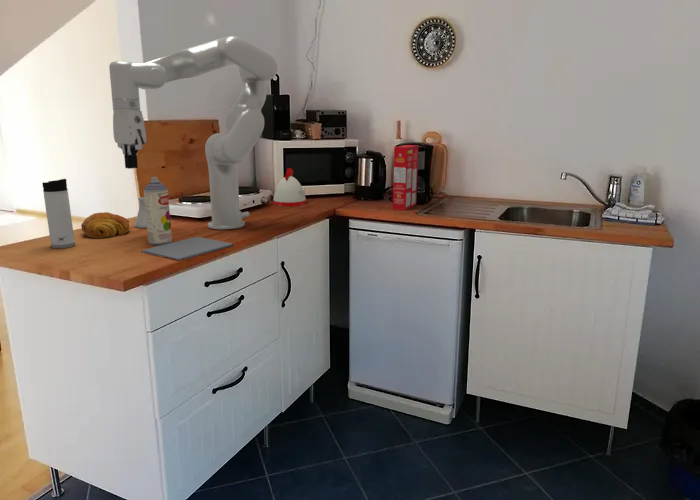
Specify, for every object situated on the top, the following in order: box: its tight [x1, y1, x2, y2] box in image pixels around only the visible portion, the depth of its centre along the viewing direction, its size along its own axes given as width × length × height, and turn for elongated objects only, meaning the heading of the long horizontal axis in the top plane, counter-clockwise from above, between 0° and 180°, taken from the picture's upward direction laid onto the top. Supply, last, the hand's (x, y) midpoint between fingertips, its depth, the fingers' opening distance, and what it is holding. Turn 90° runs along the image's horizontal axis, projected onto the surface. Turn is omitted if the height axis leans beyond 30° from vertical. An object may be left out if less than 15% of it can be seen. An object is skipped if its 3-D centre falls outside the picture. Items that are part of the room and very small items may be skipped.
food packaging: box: [392, 144, 419, 211], centre depth 221 cm, size 15×5×25 cm, turn 155°
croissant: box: [81, 211, 130, 239], centre depth 175 cm, size 14×16×8 cm
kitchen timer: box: [272, 168, 307, 207], centre depth 229 cm, size 14×14×15 cm
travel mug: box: [41, 178, 76, 250], centre depth 156 cm, size 6×7×20 cm
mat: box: [141, 236, 234, 261], centre depth 156 cm, size 20×16×1 cm
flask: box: [134, 196, 147, 229], centre depth 185 cm, size 7×7×10 cm
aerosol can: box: [143, 176, 173, 246], centre depth 161 cm, size 7×7×20 cm
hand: (131, 168), depth 163 cm, fingers closed
